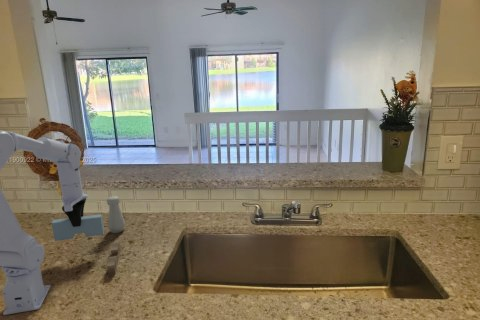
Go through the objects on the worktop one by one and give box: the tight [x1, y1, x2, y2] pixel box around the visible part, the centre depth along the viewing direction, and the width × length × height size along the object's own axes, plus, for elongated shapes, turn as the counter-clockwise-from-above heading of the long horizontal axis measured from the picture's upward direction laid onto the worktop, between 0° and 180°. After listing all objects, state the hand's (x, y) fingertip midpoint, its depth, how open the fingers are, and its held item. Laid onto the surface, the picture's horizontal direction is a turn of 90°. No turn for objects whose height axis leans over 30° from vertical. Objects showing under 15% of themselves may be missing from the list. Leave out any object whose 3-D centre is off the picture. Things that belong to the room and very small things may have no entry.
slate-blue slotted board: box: [51, 213, 105, 242], centre depth 105 cm, size 2×14×6 cm, turn 103°
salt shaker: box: [106, 195, 126, 234], centre depth 121 cm, size 6×6×13 cm
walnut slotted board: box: [106, 241, 121, 276], centre depth 102 cm, size 14×2×3 cm, turn 13°
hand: (77, 224), depth 105 cm, fingers closed on slate-blue slotted board, 2 cm apart
